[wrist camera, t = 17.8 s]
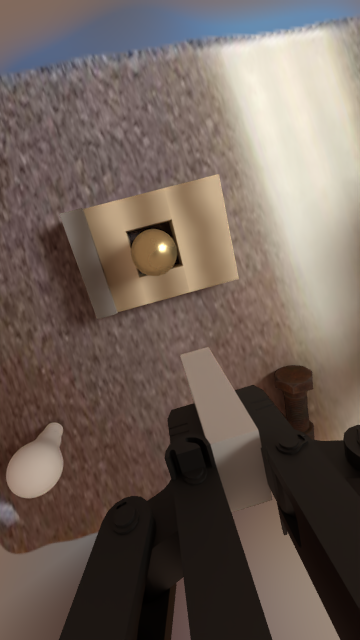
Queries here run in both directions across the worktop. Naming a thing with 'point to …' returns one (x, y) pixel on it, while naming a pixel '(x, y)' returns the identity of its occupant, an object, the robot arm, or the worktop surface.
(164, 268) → the brass cylinder
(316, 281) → the worktop surface
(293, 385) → the bolt
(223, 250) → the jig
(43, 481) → the lightbulb
